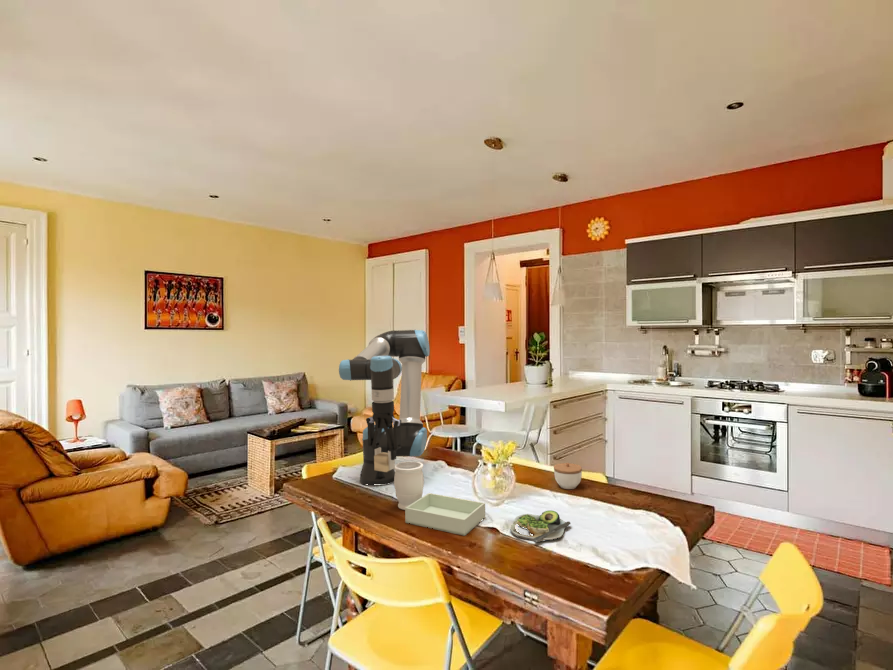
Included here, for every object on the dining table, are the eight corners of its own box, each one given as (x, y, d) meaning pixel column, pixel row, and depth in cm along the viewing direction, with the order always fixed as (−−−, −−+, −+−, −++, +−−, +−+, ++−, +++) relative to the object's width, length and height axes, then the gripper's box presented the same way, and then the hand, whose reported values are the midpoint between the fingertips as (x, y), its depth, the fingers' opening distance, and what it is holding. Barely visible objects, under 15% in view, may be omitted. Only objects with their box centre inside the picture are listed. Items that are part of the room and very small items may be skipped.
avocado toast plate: (563, 551, 141) (563, 535, 141) (503, 542, 148) (502, 527, 148) (572, 524, 159) (572, 510, 159) (518, 517, 166) (518, 503, 166)
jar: (426, 500, 182) (425, 460, 181) (422, 512, 172) (420, 469, 171) (398, 500, 183) (396, 460, 182) (392, 511, 173) (390, 469, 172)
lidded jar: (585, 484, 195) (585, 461, 194) (577, 493, 186) (576, 468, 185) (559, 480, 201) (559, 457, 200) (550, 488, 192) (549, 464, 191)
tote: (429, 506, 176) (428, 492, 176) (485, 517, 165) (485, 503, 165) (405, 522, 163) (405, 507, 163) (464, 535, 152) (464, 519, 152)
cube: (383, 466, 173) (382, 452, 173) (394, 468, 170) (394, 453, 170) (374, 470, 168) (374, 455, 168) (386, 472, 166) (385, 457, 166)
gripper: (355, 401, 170) (357, 467, 171) (398, 404, 161) (400, 474, 162) (368, 397, 176) (371, 461, 177) (410, 400, 167) (412, 468, 168)
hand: (385, 467), depth 170 cm, fingers closed on cube, 5 cm apart
